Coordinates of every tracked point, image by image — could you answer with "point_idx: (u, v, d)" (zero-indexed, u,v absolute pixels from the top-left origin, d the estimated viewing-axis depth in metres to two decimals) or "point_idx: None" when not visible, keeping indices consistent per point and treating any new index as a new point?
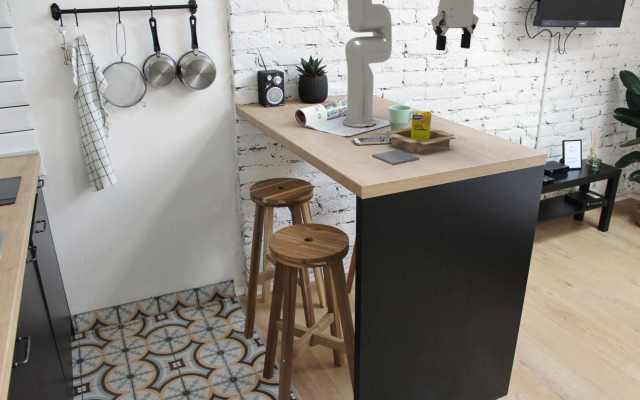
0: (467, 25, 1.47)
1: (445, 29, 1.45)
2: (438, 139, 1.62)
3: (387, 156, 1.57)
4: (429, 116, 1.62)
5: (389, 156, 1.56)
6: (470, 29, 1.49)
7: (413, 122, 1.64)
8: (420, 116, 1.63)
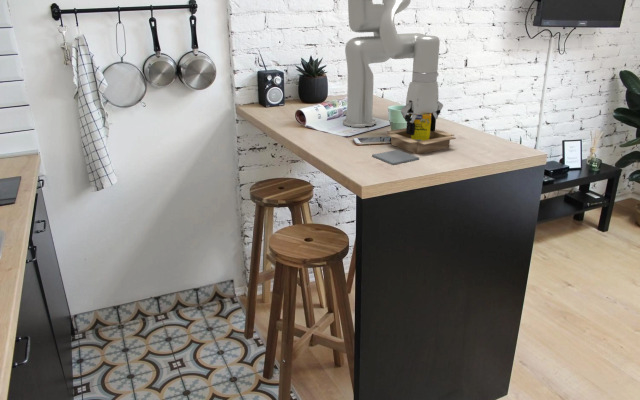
0: (433, 111, 1.65)
1: (413, 117, 1.62)
2: (438, 139, 1.62)
3: (387, 156, 1.57)
4: (429, 116, 1.62)
5: (389, 156, 1.56)
6: (435, 115, 1.67)
7: (413, 122, 1.64)
8: (420, 116, 1.63)
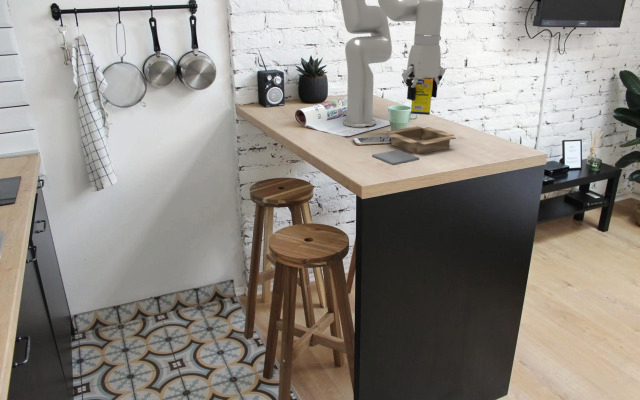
0: (435, 76, 1.61)
1: (415, 81, 1.58)
2: (438, 139, 1.62)
3: (387, 156, 1.57)
4: (431, 81, 1.59)
5: (389, 156, 1.56)
6: (436, 80, 1.63)
7: None
8: (422, 81, 1.59)
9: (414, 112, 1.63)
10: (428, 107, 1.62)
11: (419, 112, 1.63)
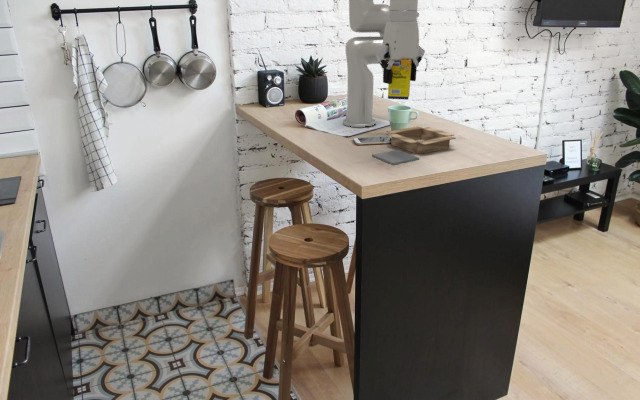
0: (413, 57, 1.46)
1: (390, 62, 1.43)
2: (438, 139, 1.62)
3: (387, 156, 1.57)
4: (408, 61, 1.44)
5: (389, 156, 1.56)
6: (415, 62, 1.48)
7: None
8: (398, 61, 1.44)
9: (391, 97, 1.48)
10: (406, 91, 1.46)
11: (397, 97, 1.48)
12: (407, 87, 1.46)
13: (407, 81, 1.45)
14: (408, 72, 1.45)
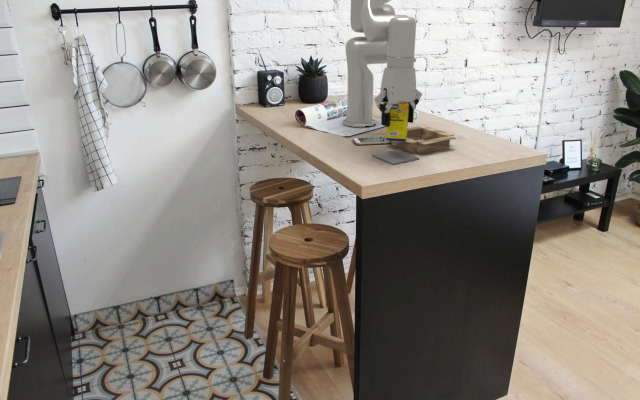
0: (410, 100, 1.50)
1: (388, 106, 1.48)
2: (438, 139, 1.62)
3: (387, 156, 1.57)
4: (406, 105, 1.48)
5: (389, 156, 1.56)
6: (413, 105, 1.52)
7: (389, 112, 1.50)
8: (396, 105, 1.48)
9: (389, 139, 1.52)
10: (404, 133, 1.51)
11: (395, 139, 1.52)
12: (405, 130, 1.50)
13: (405, 124, 1.50)
14: (405, 115, 1.49)
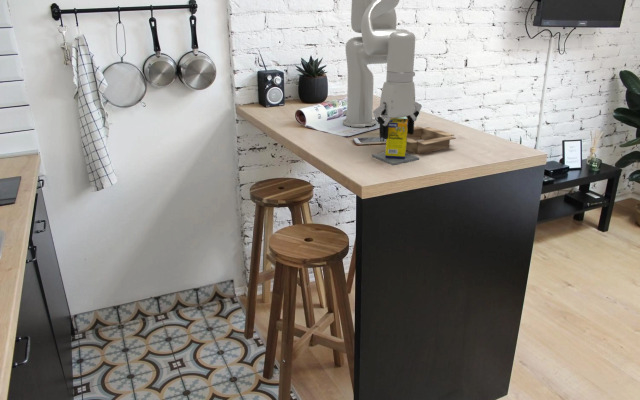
0: (409, 114, 1.52)
1: (387, 119, 1.49)
2: (438, 139, 1.62)
3: None
4: (405, 124, 1.50)
5: None
6: (413, 117, 1.54)
7: (388, 130, 1.52)
8: (395, 124, 1.51)
9: (388, 156, 1.55)
10: (403, 151, 1.53)
11: (394, 156, 1.54)
12: (403, 147, 1.53)
13: (403, 142, 1.52)
14: (404, 134, 1.51)
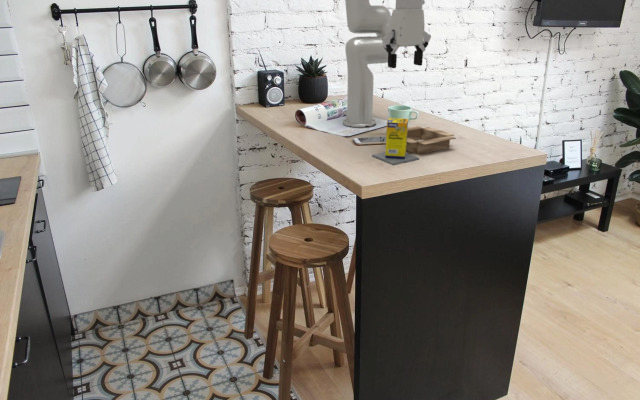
0: (418, 43, 1.51)
1: (395, 47, 1.48)
2: (438, 139, 1.62)
3: None
4: (405, 124, 1.50)
5: None
6: (422, 47, 1.53)
7: (388, 130, 1.52)
8: (395, 124, 1.51)
9: (388, 156, 1.55)
10: (403, 151, 1.53)
11: (394, 156, 1.54)
12: (403, 147, 1.53)
13: (403, 142, 1.52)
14: (404, 134, 1.51)
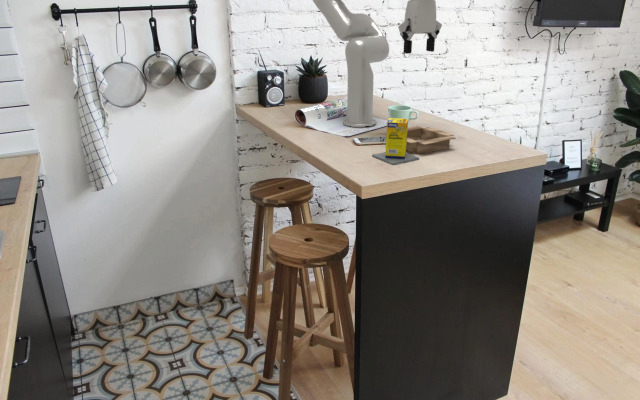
0: (431, 31, 1.67)
1: (411, 34, 1.64)
2: (438, 139, 1.62)
3: None
4: (405, 124, 1.50)
5: None
6: (434, 34, 1.69)
7: (388, 130, 1.52)
8: (395, 124, 1.51)
9: (388, 156, 1.55)
10: (403, 151, 1.53)
11: (394, 156, 1.54)
12: (403, 147, 1.53)
13: (403, 142, 1.52)
14: (404, 134, 1.51)
